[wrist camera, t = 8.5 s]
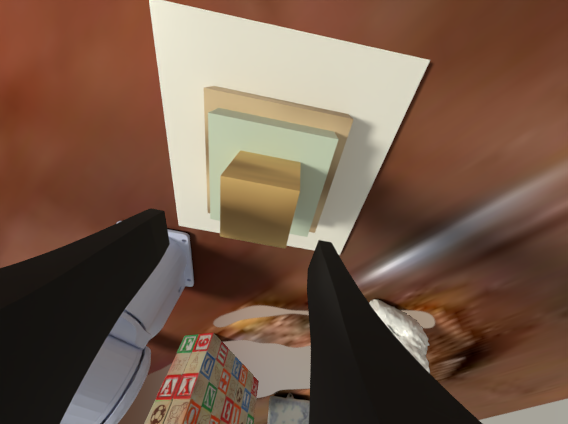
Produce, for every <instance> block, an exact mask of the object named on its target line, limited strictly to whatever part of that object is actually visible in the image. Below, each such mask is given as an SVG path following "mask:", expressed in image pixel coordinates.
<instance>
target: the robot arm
mask: <svg viewBox="0 0 568 424" xmlns="http://www.w3.org/2000/svg"><path fill="white" fill-rule="evenodd" d="M193 285H194V276H193V266H192V256H191V246H190V236H189V235H188V234H187V233H185V232H180V231H174V230H169V229H167V224H166V218H165V213H164V211H161V210H156V209H148V210H146V211H143V212H141V213H139V214H137V215H134V216H132V217H130V218H128V219H126V220H123V221H118V222H117V223H116V224H115V225H112V226H110V227H108V228H106V229H104V230H101V231H99V232H97V233H95V234H92V235H90V236H87V237H85V238H83V239H80V240H78V241H75V242H73V243H71V244H68V245H66V246H63V247H61V248H58V249H56V250H53V251H50V252H48V253H45V254H42V255H39V256H36V257H33V258H31V259H28V260H25V261H22V262H19V263H16V264H13V265H10V266H7V267H3V268H0V424H117V423H118V422H119V421H120V420H121V419H122V417H123V416H124V415H125V413H126V412H127V410H128V409H129V407H130V406H131V404H132V403H133V401H134V400H135V398H136V396H137V394H138V392H139V391H140V389H141V387H142V385H143V383H144V381H145V379H146V376H147V374H148V371H149V368H150V363H151V358H150V357H151V350H150V348H149V347H147V346H146V345H147V343H148V341H149V340H150V339H152V338H153V337H154V336H155V335H156V334H157V333H158V332H159V331H160V330H161V329H162V328H163V326H164V324H165V323H166V321H167V319H168V317H169V315H170V313H171V311H172V310H173V308H174V306H175V304H176V302H177V300H178V299H179V297H180V295H181V293H182V291H183V289H184V288H185V286H188V287H192V286H193ZM307 295H308V309H309V323H310V337H311V378H310V407H309V424H482V423H481V422H480V421H479V420H478V419H477V418H476V417H474V416H473V415H472V414H471V413H470V412H469V411H468V410H467V409H466V408H465V407H464V406H463V405H462V404H460V403H459V402H458V401H457V400H456V399H455V398H454V397H453V396H452V395H451V394H450V393H449V392H448V391H447V390H446V389H445V388H444V387H443V386H442V385H441V384H440V383H439V382H438V381H437V380H436V379H435V378H434V377H433V376H432V375H431V374H430V373H429V372H428V371H427V370H426V369H425V368H424V367H423V366H422V365H421V364H420V363H419V362H418V361H417V360H416V359H415V358H414V357H413V356H412V355H411V353H410V352H409V351H408V350H407V349H406V348H405V347H404V346H403V345H402V343H401V342H400V341H399V340H398V339H397V338H396V337H395V335H394V334H393V333H392V332H391V331H390V330H389V328H388V327H387V326H386V325H385V323H384V322H383V321H382V320H381V318H380V317H379V316H378V315H377V313H376V312H375V311H374V309H373V308H372V307H371V305H370V304H369V303H368V301H367V300H366V298H365V297H364V295H363V294H362V293H361V291H360V290H359V288H358V286H357V285H356V283H355V282H354V280H353V279H352V277H351V275H350V274H349V272H348V270H347V269H346V267H345V265H344V264H343V262H342V260H341V258H340V257H339V255H338V253H337V251H336V249H335V248H334V246H333V244H332V243H331V242H327V241H322V240H318V243H317V246H316V248H315V251H314V254H313V257H312V259H311V262H310V265H309V268H308V279H307Z"/></svg>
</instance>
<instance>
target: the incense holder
mask: <svg viewBox="0 0 568 424" xmlns="http://www.w3.org/2000/svg"><path fill="white" fill-rule="evenodd" d="M309 407H310V401H308V400H300V399H294V397H293V395H292V394H291V393H289V394H288V395H287V397H286V398H283V397H278V396H271V397H270V401H269V413H268V424H309Z"/></svg>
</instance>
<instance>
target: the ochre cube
mask: <svg viewBox="0 0 568 424" xmlns="http://www.w3.org/2000/svg"><path fill="white" fill-rule="evenodd" d="M300 169H301V162H297V161H292V160H287V159H282V158H277V157H272V156H267V155H262V154H256V153H251V152H246V151H241V150H240V151H239V153H238V154H237V155H236V156H235V158H234V159H233V160H232V162H231V163H230V164H229V165H228V167H227V168H226V169H225V171H224V172H223V173H222V174H221V176H220V237H226V238H231V239H237V240H242V241H248V242H253V243H259V244H264V245H270V246H275V247H281V248H286V245H287V241H288V237H289V233H290V229H291V225H292V221H293V217H294V213H295V209H296V205H297V201H298V197H299V193H300Z"/></svg>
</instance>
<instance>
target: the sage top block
mask: <svg viewBox="0 0 568 424" xmlns="http://www.w3.org/2000/svg"><path fill="white" fill-rule="evenodd" d="M208 139H209V182H210V219H213V220H218V221H220V176H221V174H222V173H223V172H224V171H225V169H226V168H227V167H228V165H229V164H230V163H231V162H232V160H233V159H234V158H235V156H236V155H237V154H238V153H239V151H240V150H241V151H246V152H251V153H256V154H262V155H267V156H272V157H277V158H282V159H287V160H292V161H297V162H301V169H300V193H299V197H298V201H297V205H296V209H295V213H294V217H293V221H292V225H291V229H290V233H289V234H293V235H299V236H304V237H308V233H309V230H310V227H311V224H312V221H313V218H314V215H315V211H316V208H317V205H318V202H319V199H320V196H321V193H322V190H323V186H324V183H325V180H326V177H327V174H328V171H329V168H330V164H331V161H332V158H333V155H334V152H335V149H336V146H337V143H338V138H337V136H336V134H335V132H334V131H329V130H324V129H319V128H315V127H310V126H305V125H300V124H295V123H290V122H286V121H281V120H276V119H271V118H266V117H261V116H257V115H252V114H247V113H242V112H237V111H232V110H228V109H223V108H217V109H215V110H213V111H210V112H208Z"/></svg>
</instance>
